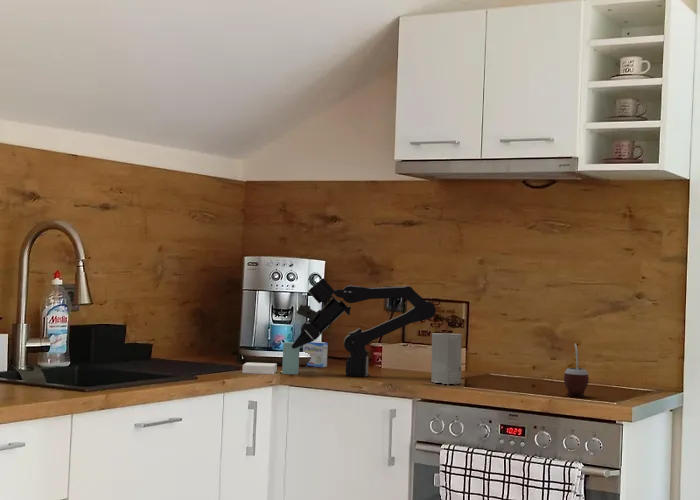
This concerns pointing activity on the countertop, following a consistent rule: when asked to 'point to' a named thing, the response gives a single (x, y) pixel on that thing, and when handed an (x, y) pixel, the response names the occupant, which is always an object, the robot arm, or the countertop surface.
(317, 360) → the medicine box
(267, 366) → the grey plinth
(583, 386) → the mate gourd
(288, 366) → the teal block
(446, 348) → the skincare box
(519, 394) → the countertop surface
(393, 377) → the countertop surface
